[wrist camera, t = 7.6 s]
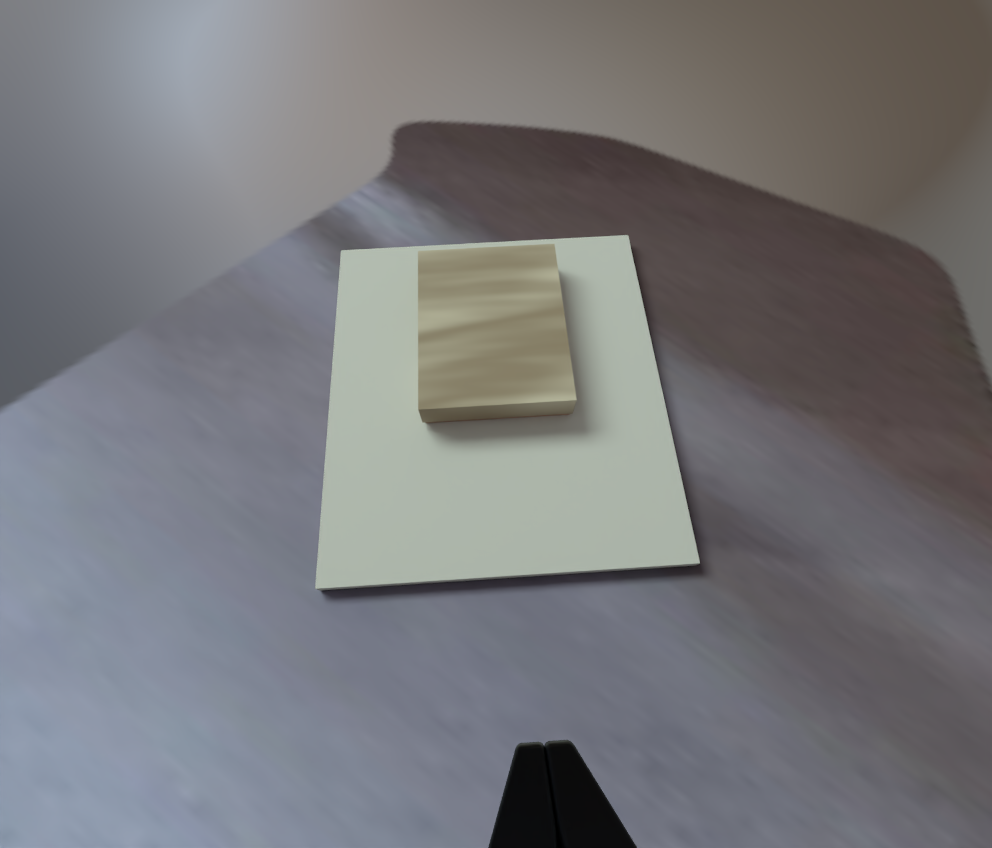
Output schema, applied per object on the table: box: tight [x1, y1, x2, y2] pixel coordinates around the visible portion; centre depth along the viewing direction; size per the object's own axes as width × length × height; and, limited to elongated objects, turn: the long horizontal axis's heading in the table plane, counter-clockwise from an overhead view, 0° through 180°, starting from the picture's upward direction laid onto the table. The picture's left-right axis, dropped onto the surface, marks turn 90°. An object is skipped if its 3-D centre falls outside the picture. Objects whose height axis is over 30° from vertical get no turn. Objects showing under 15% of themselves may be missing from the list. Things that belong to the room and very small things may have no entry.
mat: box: [315, 235, 700, 590], centre depth 25 cm, size 18×16×1 cm
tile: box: [418, 244, 577, 423], centre depth 25 cm, size 2×7×9 cm
